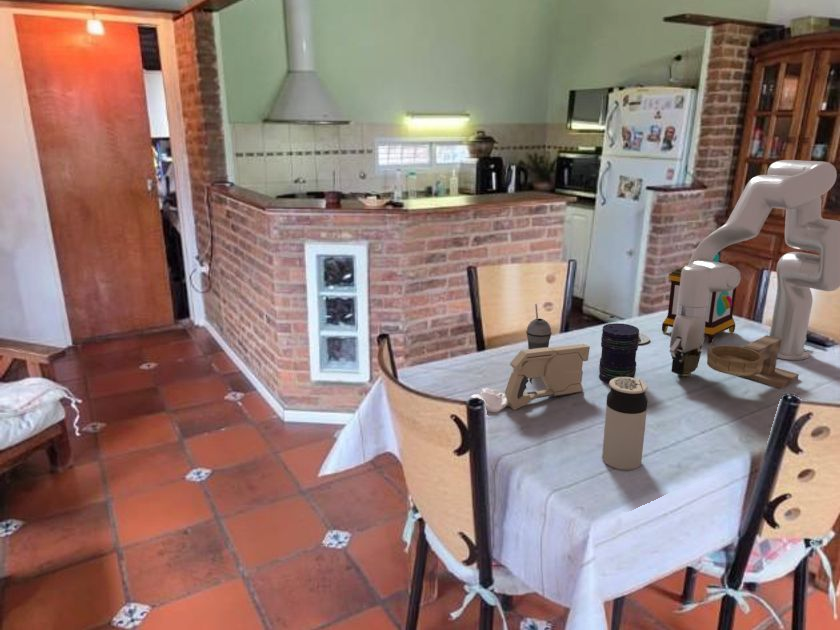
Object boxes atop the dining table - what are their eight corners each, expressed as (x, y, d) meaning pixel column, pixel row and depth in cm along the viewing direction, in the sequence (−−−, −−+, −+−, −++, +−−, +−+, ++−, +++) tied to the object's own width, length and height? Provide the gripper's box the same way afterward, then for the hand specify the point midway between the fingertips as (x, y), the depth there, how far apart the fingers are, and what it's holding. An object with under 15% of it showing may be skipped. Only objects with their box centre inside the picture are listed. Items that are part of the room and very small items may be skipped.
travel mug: (600, 467, 124) (606, 389, 118) (603, 448, 131) (609, 374, 125) (640, 474, 121) (649, 394, 115) (641, 454, 128) (649, 378, 122)
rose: (467, 394, 149) (473, 379, 158) (467, 410, 150) (473, 394, 159) (507, 398, 146) (511, 382, 155) (506, 414, 148) (510, 397, 157)
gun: (509, 411, 149) (515, 355, 145) (502, 406, 151) (508, 351, 147) (583, 398, 159) (591, 346, 156) (575, 394, 162) (582, 342, 158)
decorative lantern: (684, 320, 215) (693, 239, 206) (740, 333, 201) (753, 246, 192) (655, 332, 203) (664, 246, 194) (712, 347, 189) (725, 255, 180)
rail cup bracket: (746, 364, 174) (752, 327, 171) (797, 379, 164) (805, 340, 160) (691, 391, 157) (696, 351, 154) (744, 410, 147) (751, 367, 143)
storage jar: (640, 377, 167) (646, 317, 162) (625, 388, 160) (631, 326, 155) (607, 369, 173) (612, 310, 168) (592, 379, 167) (596, 319, 161)
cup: (702, 381, 164) (706, 354, 161) (675, 381, 164) (678, 354, 162) (691, 370, 171) (694, 344, 168) (665, 371, 171) (668, 345, 169)
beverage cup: (544, 375, 170) (547, 309, 164) (521, 370, 174) (523, 306, 168) (553, 367, 176) (556, 303, 170) (530, 362, 179) (532, 299, 173)
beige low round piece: (616, 332, 205) (617, 320, 204) (652, 337, 199) (654, 325, 198) (607, 343, 196) (609, 329, 194) (645, 348, 190) (647, 335, 188)
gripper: (695, 301, 169) (688, 359, 175) (661, 313, 159) (654, 373, 165) (721, 307, 164) (713, 366, 169) (687, 319, 154) (680, 382, 159)
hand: (684, 369), depth 167 cm, fingers closed on cup, 6 cm apart
